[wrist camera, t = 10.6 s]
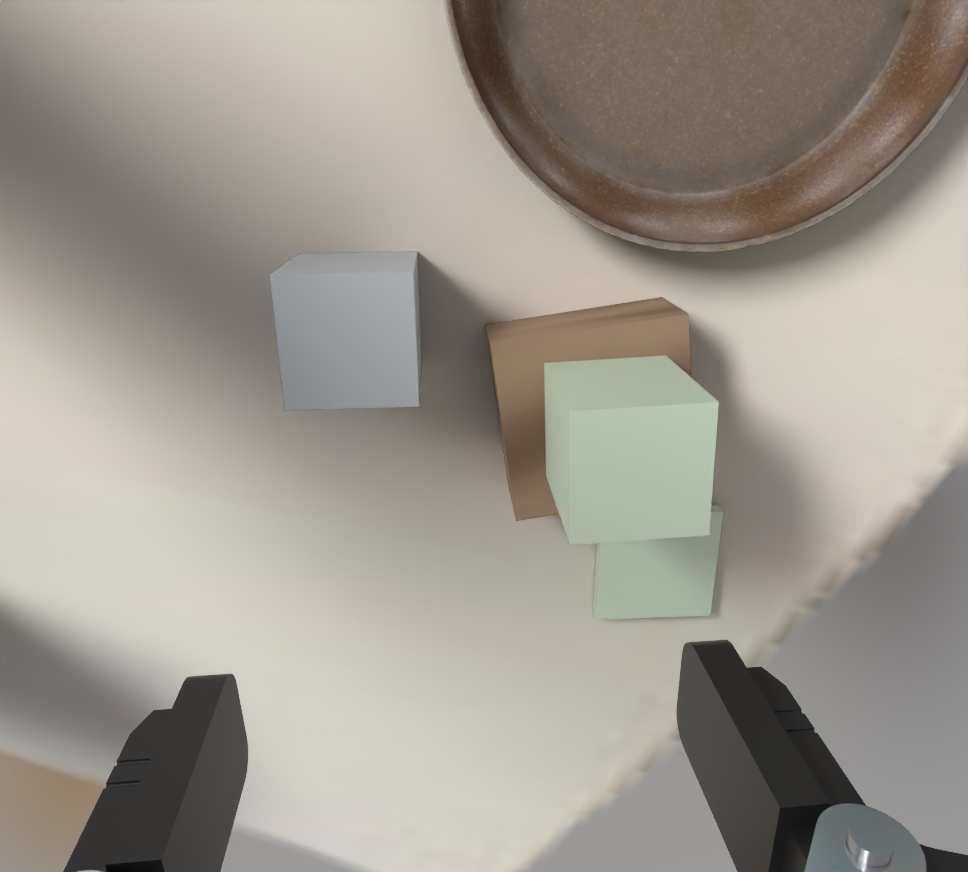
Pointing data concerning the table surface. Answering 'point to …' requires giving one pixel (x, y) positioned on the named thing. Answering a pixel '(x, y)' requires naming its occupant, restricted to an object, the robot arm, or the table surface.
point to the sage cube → (629, 449)
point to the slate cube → (348, 330)
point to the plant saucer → (709, 105)
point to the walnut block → (565, 339)
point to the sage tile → (657, 575)
